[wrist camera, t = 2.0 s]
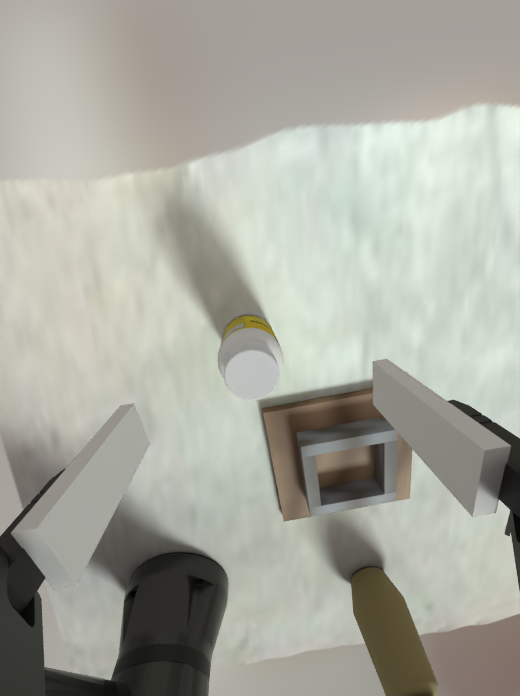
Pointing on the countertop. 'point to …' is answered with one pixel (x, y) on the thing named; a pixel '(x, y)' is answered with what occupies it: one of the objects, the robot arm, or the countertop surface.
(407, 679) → the squeeze bottle
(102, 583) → the countertop surface
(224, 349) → the supplement bottle
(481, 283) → the countertop surface
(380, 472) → the socket holder
